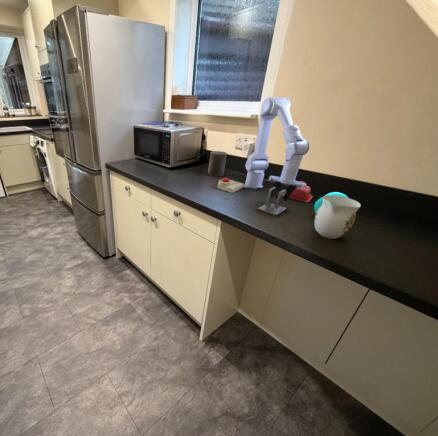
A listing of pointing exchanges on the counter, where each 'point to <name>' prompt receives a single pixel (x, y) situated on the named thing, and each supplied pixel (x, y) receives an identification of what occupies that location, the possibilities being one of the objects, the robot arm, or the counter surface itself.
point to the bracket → (273, 208)
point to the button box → (230, 185)
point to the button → (225, 179)
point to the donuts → (320, 201)
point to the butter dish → (301, 194)
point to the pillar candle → (217, 163)
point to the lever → (275, 193)
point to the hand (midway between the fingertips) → (281, 199)
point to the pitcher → (335, 216)
